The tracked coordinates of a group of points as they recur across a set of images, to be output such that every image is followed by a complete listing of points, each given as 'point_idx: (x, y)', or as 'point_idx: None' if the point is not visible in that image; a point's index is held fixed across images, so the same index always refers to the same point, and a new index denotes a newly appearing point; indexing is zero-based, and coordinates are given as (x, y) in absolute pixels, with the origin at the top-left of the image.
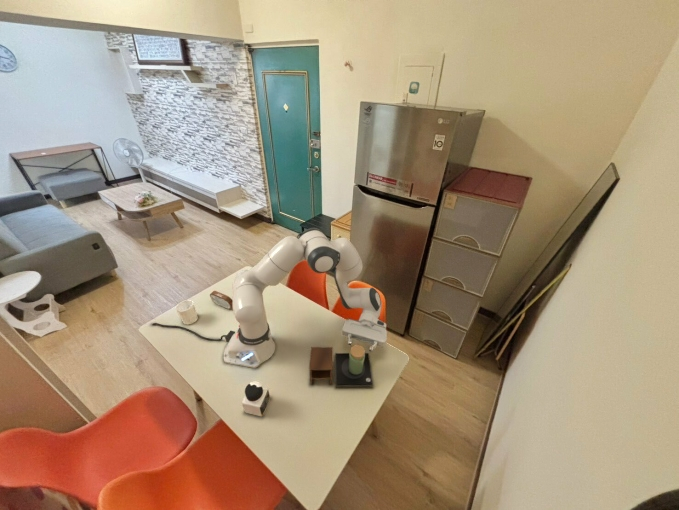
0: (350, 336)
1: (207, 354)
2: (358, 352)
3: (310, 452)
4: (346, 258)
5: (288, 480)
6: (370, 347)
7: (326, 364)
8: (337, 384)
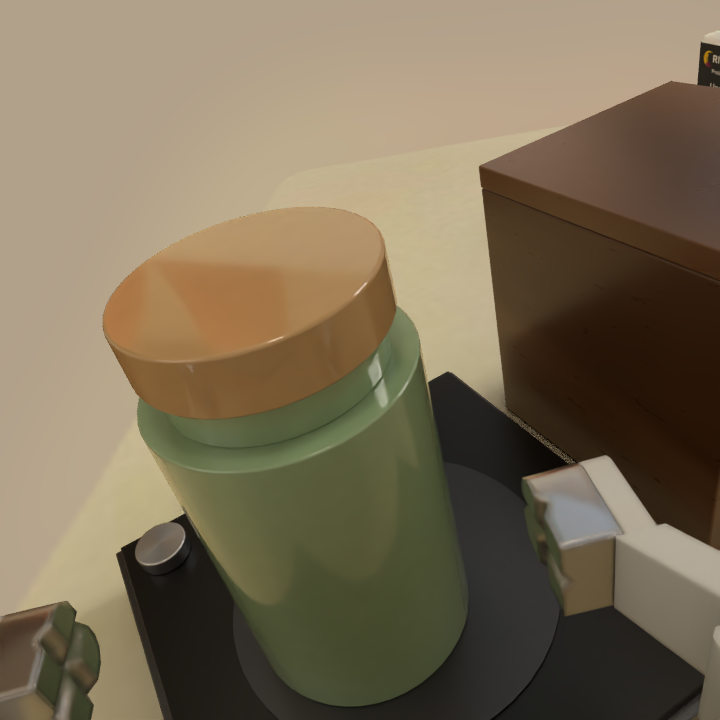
0: (716, 640)
1: None
2: (216, 265)
3: (379, 204)
4: None
5: (400, 154)
6: (28, 639)
7: (573, 152)
8: (442, 378)
